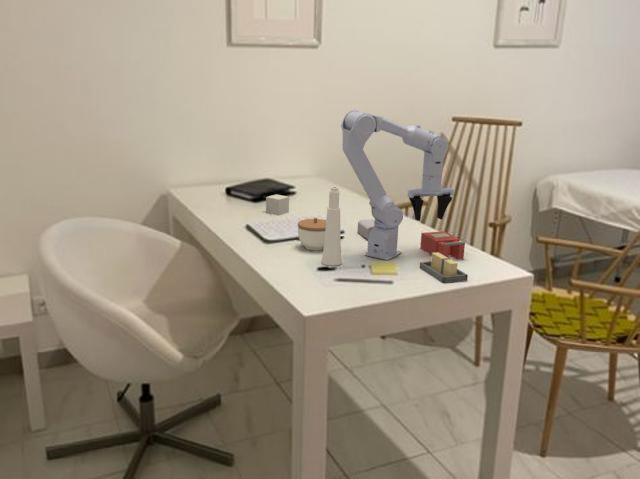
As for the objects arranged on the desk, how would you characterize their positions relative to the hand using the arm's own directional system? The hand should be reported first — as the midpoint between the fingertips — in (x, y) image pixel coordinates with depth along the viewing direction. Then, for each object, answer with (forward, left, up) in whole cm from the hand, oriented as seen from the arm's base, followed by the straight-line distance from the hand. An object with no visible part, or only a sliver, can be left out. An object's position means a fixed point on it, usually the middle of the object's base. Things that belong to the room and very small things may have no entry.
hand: (428, 219), depth 199 cm
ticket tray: (-17, -13, -10) cm, 24 cm away
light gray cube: (+8, +64, -10) cm, 65 cm away
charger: (+6, +23, -10) cm, 26 cm away
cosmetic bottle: (-28, +17, -10) cm, 34 cm away
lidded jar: (-19, +29, -10) cm, 36 cm away
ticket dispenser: (0, -5, -10) cm, 11 cm away
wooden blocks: (-17, -13, -9) cm, 23 cm away
